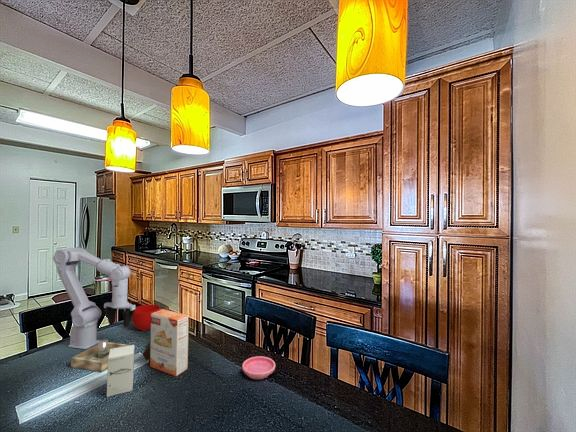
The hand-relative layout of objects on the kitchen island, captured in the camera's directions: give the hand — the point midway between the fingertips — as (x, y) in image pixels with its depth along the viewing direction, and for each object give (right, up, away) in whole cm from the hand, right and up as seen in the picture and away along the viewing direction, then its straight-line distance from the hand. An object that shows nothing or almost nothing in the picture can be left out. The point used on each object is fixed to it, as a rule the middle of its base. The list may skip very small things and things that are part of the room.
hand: (119, 325), depth 119 cm
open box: (+1, -9, -11) cm, 15 cm away
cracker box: (+29, -10, -16) cm, 35 cm away
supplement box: (+18, -10, -28) cm, 35 cm away
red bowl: (+3, -10, +19) cm, 21 cm away
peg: (+1, -9, -11) cm, 14 cm away
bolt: (+17, -10, -3) cm, 20 cm away
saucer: (+64, -11, -17) cm, 67 cm away
